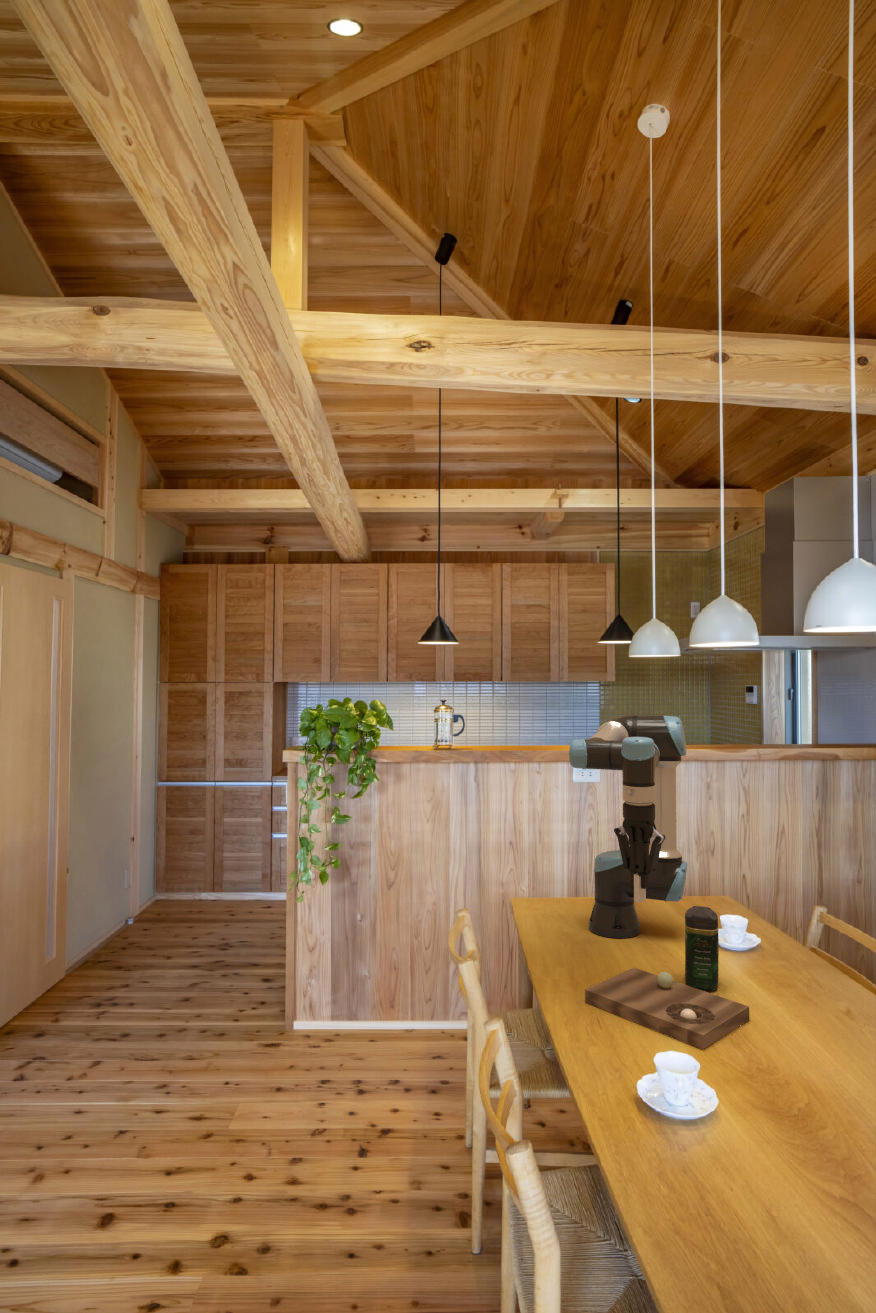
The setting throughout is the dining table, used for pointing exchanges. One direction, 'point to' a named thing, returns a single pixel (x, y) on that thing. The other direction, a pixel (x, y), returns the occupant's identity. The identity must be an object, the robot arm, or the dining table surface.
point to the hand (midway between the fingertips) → (640, 900)
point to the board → (668, 1007)
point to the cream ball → (688, 1014)
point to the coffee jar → (701, 948)
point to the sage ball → (665, 980)
